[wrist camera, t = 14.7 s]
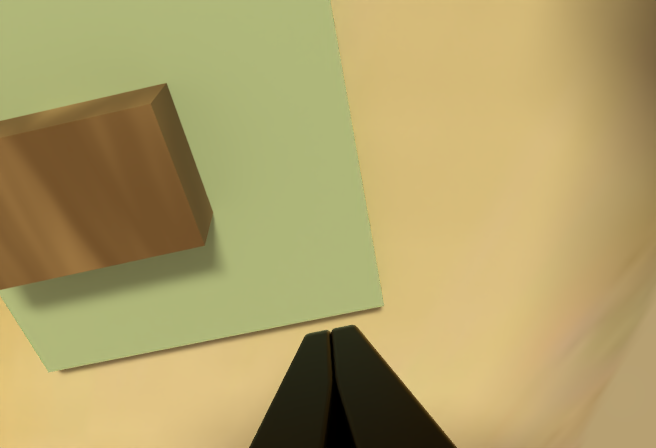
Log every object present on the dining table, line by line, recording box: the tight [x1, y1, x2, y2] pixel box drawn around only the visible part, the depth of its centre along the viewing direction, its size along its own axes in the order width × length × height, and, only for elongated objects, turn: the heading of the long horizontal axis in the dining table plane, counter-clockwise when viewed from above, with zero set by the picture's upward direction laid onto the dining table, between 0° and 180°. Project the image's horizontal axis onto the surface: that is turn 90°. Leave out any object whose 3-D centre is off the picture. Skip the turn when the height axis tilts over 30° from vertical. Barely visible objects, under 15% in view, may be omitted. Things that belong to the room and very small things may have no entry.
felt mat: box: [0, 0, 384, 372], centre depth 19 cm, size 15×17×1 cm
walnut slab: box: [0, 83, 213, 290], centre depth 18 cm, size 2×5×8 cm
